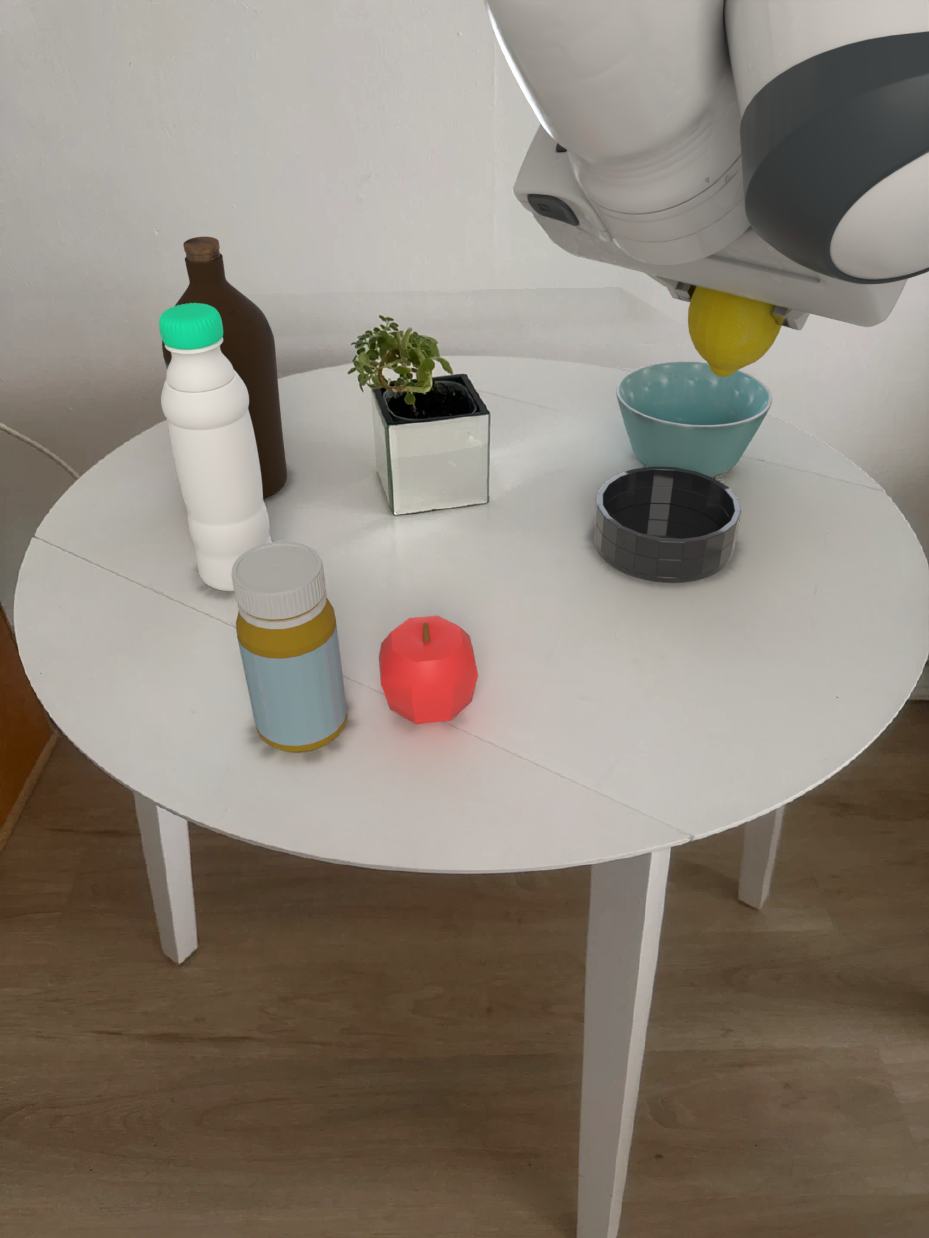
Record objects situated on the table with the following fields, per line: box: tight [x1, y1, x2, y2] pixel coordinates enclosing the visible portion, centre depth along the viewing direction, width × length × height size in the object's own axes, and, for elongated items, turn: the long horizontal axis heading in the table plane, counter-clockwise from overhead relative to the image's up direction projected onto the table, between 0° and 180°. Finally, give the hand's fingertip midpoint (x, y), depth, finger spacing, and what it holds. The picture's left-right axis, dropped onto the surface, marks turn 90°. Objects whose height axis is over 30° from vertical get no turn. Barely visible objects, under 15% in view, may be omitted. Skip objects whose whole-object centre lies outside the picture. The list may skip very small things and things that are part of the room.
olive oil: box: [161, 236, 288, 500], centre depth 98 cm, size 11×11×25 cm
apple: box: [378, 615, 479, 725], centre depth 76 cm, size 8×8×8 cm
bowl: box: [615, 360, 773, 478], centre depth 105 cm, size 16×16×8 cm
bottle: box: [231, 540, 348, 754], centre depth 72 cm, size 7×7×15 cm
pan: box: [593, 466, 742, 584], centre depth 94 cm, size 13×13×4 cm
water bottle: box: [158, 303, 273, 592], centre depth 85 cm, size 7×7×25 cm
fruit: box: [687, 286, 782, 377], centre depth 60 cm, size 6×6×8 cm
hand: (740, 303), depth 60 cm, fingers closed on fruit, 5 cm apart
